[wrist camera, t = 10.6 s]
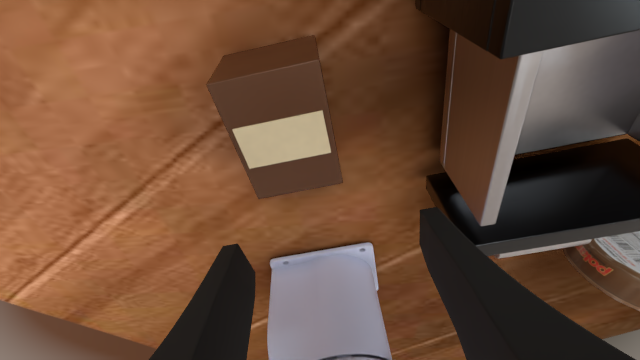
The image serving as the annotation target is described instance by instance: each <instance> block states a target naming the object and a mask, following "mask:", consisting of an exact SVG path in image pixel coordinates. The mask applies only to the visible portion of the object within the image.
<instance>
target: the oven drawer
mask: <svg viewBox="0 0 640 360" xmlns="http://www.w3.org/2000/svg"><path fill="white" fill-rule="evenodd" d="M623 134H628V135H630V136H631V137H633V138H635V139H636V140H638V141H640V30H638V31H633V32H629V33H624V34H619V35H614V36H610V37H605V38H600V39H596V40H591V41H586V42H581V43H577V44H572V45H567V46H563V47H558V48H553V49H549V50H544V51H539V52H534V53H530V54H525V55H520V56H516V57H511V58H506V59H499V58H497V57H495V56H494V55H492V54H490V53H489V52H488V51H485V50H484V49H482V48H480V47H479V46H477V45H475V44H474V43H472V42H470V41H469V40H467V39H465V38H464V37H462V36H461V35H459V34H457V33H456V32H454V31H452V30H451V29H450V34H449V47H448V59H447V72H446V85H445V97H444V110H443V122H442V135H441V148H440V160H439V161H440V163H441V165H442V166H443V168H444V169H445V171H446V172H445V173H439V174H434V175H428V176H427V177H426V189H427V191H428V193H429V195H430V197H431V199H432V201H433V202H434V204H435V206H436V207H437V208H439V209H440V210H441V211H442V212H443V213H444V214H445V216H446V217H447V218H448V219H449V220H450V221H451V222H452V223H453V224H454V225H455V226H456V227H457V228H458V229H459V230H460V231H461V232H462V233H463V234H464V235H465V236H466V237H467V238H468V239H469V240H470V241H471V242H472V243H473V244H474V245H475V246H476V247H478V248H479V249H480V250H481V251H482V252H483V253H484V254H485V255H486V256H491V255H494V256H495V257H496V258H505V257H511V256H517V255H523V254H530V253H536V252H542V251H548V250H554V249H560V248H566V247H573V246H579V245H585V244H589V243H590V242H591V240H592V239H595V238H602V237H608V236H614V235H620V234H626V233H632V232H638V231H640V146H639V145H637V144H636V143H634V142H632V141H631V140H629V139H621V140H616V141H611V142H605V143H600V144H595V145H589V146H584V147H578V148H573V149H568V150H562V151H557V152H552V153H546V154H541V155H536V156H530V157H525V158H520V159H514V156H515V155H516V154H522V153H527V152H532V151H538V150H543V149H548V148H554V147H559V146H564V145H570V144H575V143H580V142H586V141H591V140H596V139H601V138H607V137H612V136H617V135H623ZM513 159H514V160H513Z"/></svg>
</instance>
